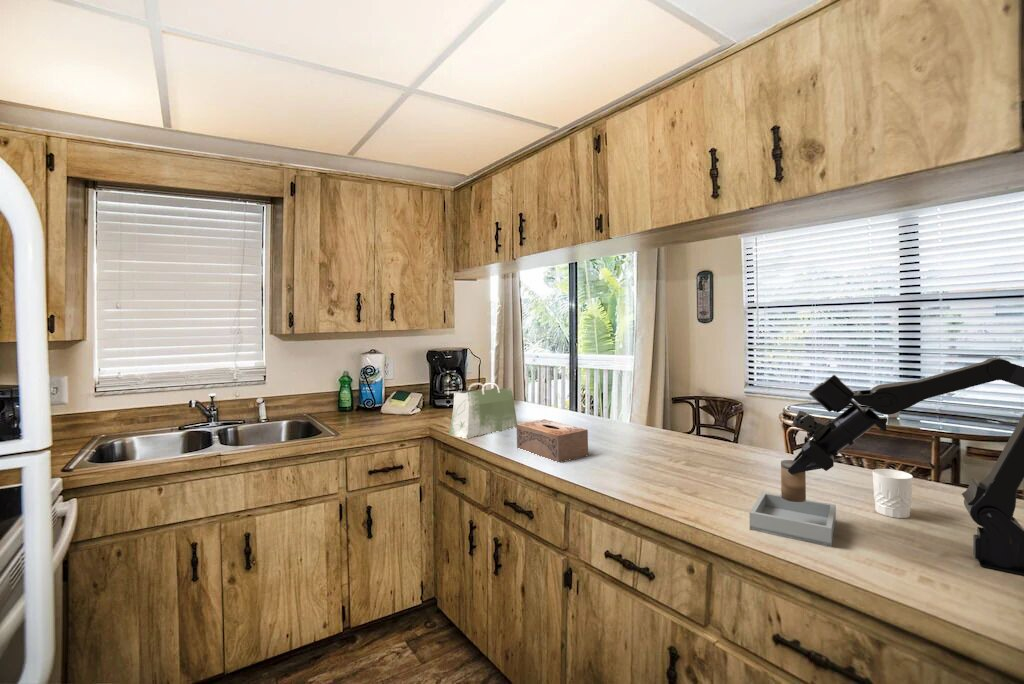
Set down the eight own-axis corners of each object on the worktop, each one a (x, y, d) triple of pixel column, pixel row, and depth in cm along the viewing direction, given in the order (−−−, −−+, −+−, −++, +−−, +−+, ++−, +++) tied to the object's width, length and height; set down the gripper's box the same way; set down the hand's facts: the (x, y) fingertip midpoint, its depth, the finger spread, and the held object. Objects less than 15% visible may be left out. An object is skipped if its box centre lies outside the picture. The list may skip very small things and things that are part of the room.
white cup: (894, 506, 123) (894, 468, 122) (921, 518, 115) (921, 478, 114) (864, 507, 122) (864, 469, 122) (890, 520, 114) (890, 479, 114)
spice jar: (810, 499, 112) (810, 463, 111) (797, 503, 110) (796, 467, 109) (790, 493, 116) (789, 458, 116) (776, 497, 114) (776, 462, 114)
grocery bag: (498, 423, 240) (497, 377, 239) (518, 427, 230) (517, 379, 229) (447, 435, 217) (446, 384, 216) (467, 439, 207) (465, 386, 206)
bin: (835, 521, 115) (835, 504, 115) (831, 546, 102) (831, 528, 102) (762, 507, 124) (761, 492, 124) (749, 529, 112) (749, 512, 112)
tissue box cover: (588, 456, 177) (587, 429, 177) (558, 463, 169) (557, 435, 169) (545, 442, 199) (544, 419, 198) (517, 448, 190) (516, 424, 190)
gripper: (818, 395, 117) (768, 434, 124) (814, 407, 102) (757, 451, 108) (858, 430, 113) (804, 469, 119) (859, 448, 97) (798, 491, 104)
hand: (790, 469), depth 113 cm, fingers closed on spice jar, 5 cm apart
